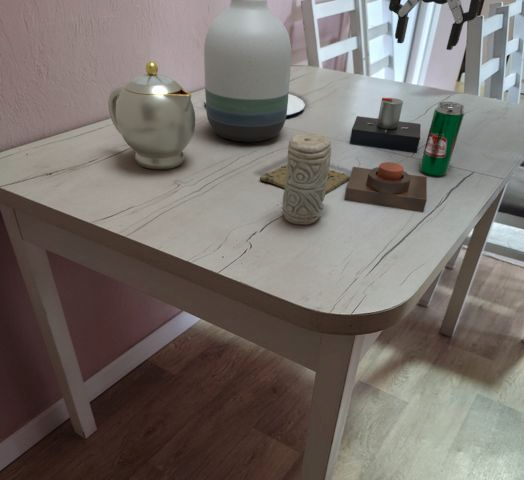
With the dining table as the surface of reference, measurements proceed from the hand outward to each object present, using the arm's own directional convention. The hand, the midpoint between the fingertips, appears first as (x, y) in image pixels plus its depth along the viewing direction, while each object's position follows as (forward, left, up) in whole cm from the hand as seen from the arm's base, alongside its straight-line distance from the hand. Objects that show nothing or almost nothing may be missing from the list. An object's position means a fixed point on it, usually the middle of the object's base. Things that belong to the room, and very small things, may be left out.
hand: (424, 45), depth 84 cm
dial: (+3, -11, -17) cm, 20 cm away
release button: (+1, +19, -16) cm, 25 cm away
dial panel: (+3, -11, -20) cm, 23 cm away
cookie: (+16, +17, -20) cm, 30 cm away
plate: (+36, -25, -20) cm, 49 cm away
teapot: (+44, +18, -20) cm, 52 cm away
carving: (+13, +32, -20) cm, 40 cm away
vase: (+32, -3, -20) cm, 38 cm away
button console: (+1, +18, -20) cm, 27 cm away
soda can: (-7, +4, -20) cm, 21 cm away
